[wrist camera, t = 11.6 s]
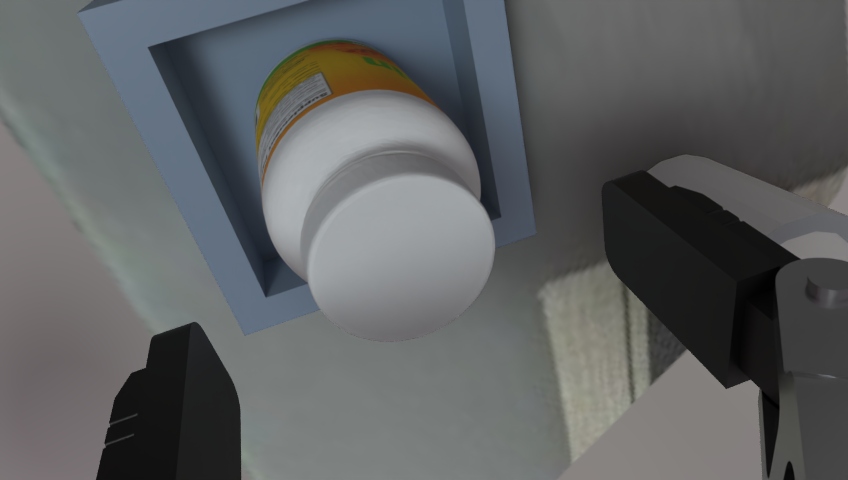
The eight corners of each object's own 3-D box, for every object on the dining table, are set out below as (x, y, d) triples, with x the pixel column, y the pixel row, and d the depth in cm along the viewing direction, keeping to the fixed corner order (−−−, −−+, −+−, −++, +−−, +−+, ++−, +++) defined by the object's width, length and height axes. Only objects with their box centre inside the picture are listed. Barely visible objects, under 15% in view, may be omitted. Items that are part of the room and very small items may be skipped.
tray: (100, -5, 17) (76, 12, 15) (455, -104, 18) (489, -103, 16) (244, 288, 23) (244, 335, 21) (505, 199, 24) (536, 234, 22)
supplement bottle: (443, 111, 21) (575, 245, 13) (340, 217, 22) (404, 403, 14) (330, -3, 18) (410, 77, 10) (217, 124, 19) (209, 290, 11)
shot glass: (741, 237, 29) (867, 323, 23) (615, 298, 29) (710, 401, 23) (731, 114, 25) (879, 180, 20) (587, 183, 25) (692, 271, 19)
